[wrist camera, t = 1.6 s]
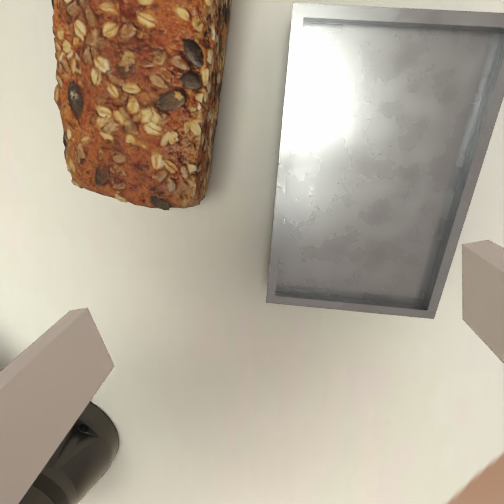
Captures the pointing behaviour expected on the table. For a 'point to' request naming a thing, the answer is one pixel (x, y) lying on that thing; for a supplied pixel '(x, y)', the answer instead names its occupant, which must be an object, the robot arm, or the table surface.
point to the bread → (140, 95)
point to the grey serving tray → (380, 153)
